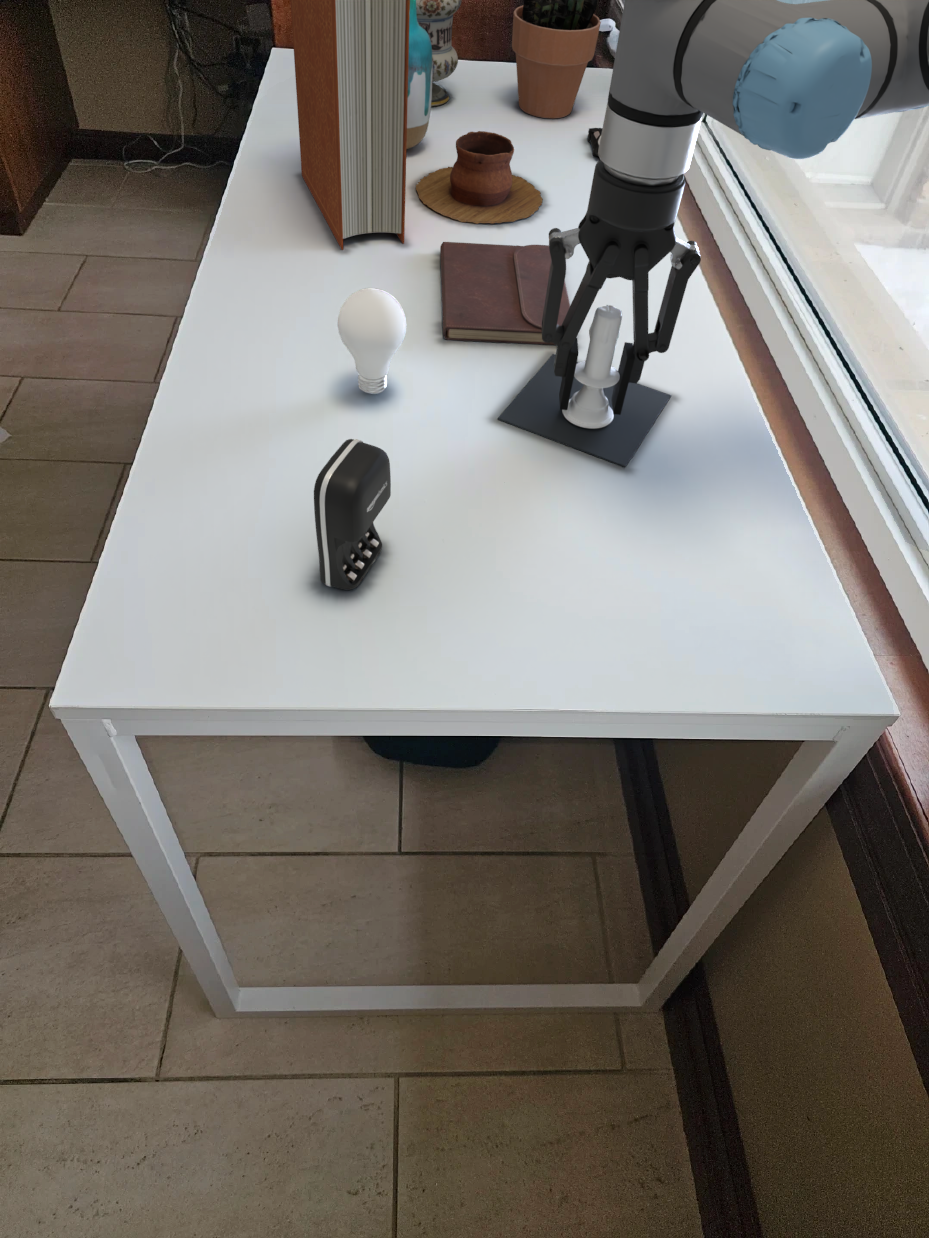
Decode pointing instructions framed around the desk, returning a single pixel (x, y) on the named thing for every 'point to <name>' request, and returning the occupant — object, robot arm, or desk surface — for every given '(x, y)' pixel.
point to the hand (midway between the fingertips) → (589, 403)
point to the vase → (418, 80)
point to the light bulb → (372, 334)
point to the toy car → (595, 139)
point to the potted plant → (553, 53)
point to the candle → (596, 372)
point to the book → (353, 110)
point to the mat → (611, 443)
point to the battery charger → (350, 512)
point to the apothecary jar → (439, 41)
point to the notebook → (496, 292)
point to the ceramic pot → (480, 183)
